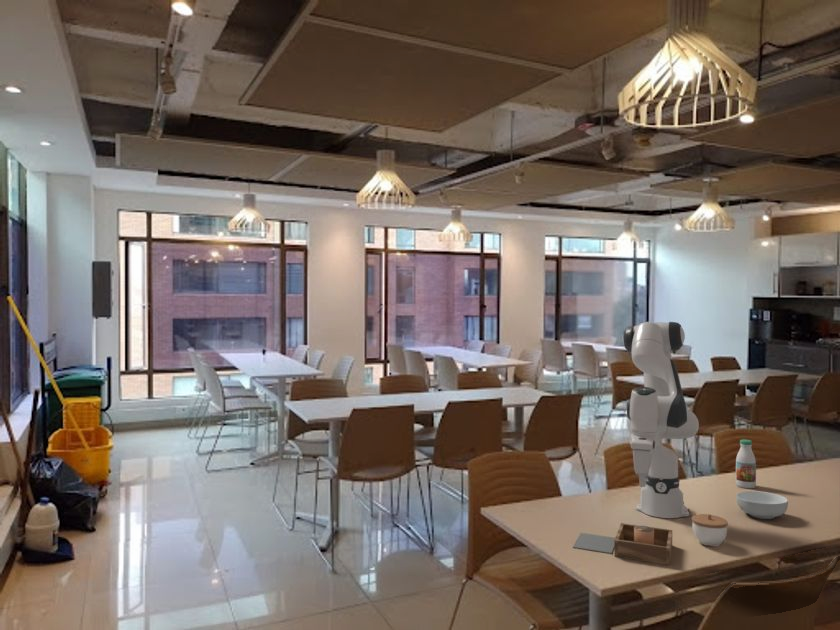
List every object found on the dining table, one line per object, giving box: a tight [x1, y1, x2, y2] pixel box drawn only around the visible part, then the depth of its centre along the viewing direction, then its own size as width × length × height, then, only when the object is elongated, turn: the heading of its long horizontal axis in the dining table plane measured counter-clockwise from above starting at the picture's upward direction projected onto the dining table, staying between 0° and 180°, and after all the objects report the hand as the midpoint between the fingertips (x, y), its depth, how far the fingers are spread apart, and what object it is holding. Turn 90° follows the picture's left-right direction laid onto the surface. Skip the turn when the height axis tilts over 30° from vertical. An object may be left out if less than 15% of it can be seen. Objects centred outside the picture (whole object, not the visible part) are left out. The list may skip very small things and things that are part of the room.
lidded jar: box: [691, 513, 729, 547], centre depth 205 cm, size 11×11×9 cm
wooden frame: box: [613, 522, 673, 566], centre depth 198 cm, size 17×16×5 cm
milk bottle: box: [735, 439, 757, 489], centre depth 271 cm, size 8×8×20 cm
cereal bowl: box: [735, 490, 789, 520], centre depth 232 cm, size 17×17×7 cm
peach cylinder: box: [633, 525, 655, 545], centre depth 198 cm, size 6×6×7 cm
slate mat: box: [572, 532, 615, 555], centre depth 204 cm, size 14×12×1 cm
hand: (644, 482), depth 198 cm, fingers open, 8 cm apart
